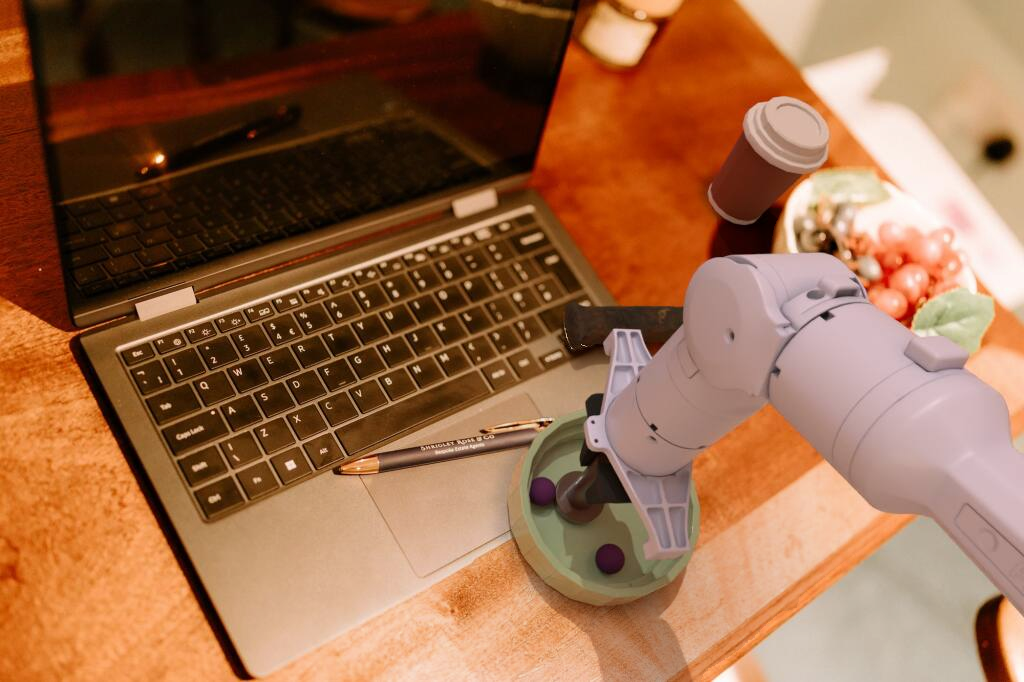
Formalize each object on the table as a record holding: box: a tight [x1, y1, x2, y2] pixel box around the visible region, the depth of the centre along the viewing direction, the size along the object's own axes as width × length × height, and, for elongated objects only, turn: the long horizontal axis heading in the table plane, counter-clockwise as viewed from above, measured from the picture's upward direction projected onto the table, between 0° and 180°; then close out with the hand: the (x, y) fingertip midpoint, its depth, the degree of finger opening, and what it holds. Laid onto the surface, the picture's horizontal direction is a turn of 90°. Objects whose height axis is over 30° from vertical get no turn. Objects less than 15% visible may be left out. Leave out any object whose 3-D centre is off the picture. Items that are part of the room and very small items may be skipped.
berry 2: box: [595, 544, 625, 574], centre depth 52 cm, size 2×2×2 cm
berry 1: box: [529, 477, 556, 506], centre depth 54 cm, size 2×2×2 cm
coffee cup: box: [707, 95, 831, 226], centre depth 73 cm, size 9×9×12 cm
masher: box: [554, 452, 611, 524], centre depth 51 cm, size 4×4×8 cm
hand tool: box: [561, 300, 684, 351], centre depth 64 cm, size 19×4×5 cm, turn 97°
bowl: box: [507, 408, 701, 607], centre depth 54 cm, size 14×14×4 cm
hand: (595, 479), depth 51 cm, fingers closed on masher, 2 cm apart
